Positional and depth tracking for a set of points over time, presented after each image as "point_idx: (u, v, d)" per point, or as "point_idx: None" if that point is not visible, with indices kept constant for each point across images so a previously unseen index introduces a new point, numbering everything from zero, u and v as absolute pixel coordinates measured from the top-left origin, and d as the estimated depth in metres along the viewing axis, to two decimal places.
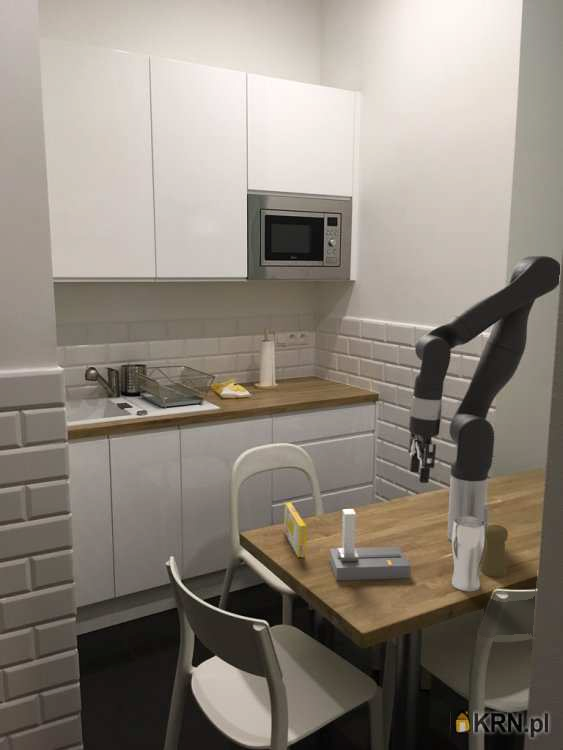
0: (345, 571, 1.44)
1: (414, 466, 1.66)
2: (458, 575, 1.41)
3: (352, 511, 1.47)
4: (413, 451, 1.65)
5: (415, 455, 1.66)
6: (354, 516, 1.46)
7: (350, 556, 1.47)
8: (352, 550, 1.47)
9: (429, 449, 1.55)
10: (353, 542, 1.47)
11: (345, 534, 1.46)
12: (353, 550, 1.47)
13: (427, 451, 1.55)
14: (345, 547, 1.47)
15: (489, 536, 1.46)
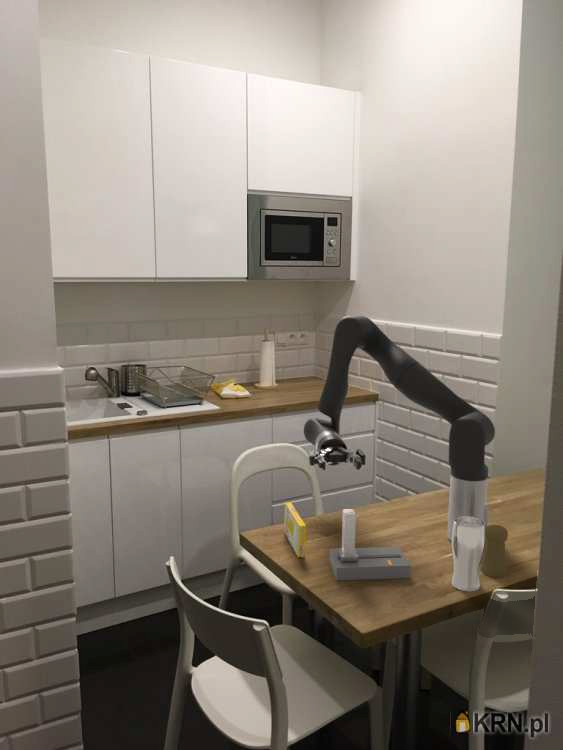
0: (345, 571, 1.44)
1: (355, 464, 1.59)
2: (458, 575, 1.41)
3: (352, 511, 1.47)
4: (348, 463, 1.63)
5: (354, 461, 1.61)
6: (354, 516, 1.46)
7: (350, 556, 1.47)
8: (352, 550, 1.47)
9: None
10: (353, 542, 1.47)
11: (345, 534, 1.46)
12: (353, 550, 1.47)
13: None
14: (345, 547, 1.47)
15: (489, 536, 1.46)
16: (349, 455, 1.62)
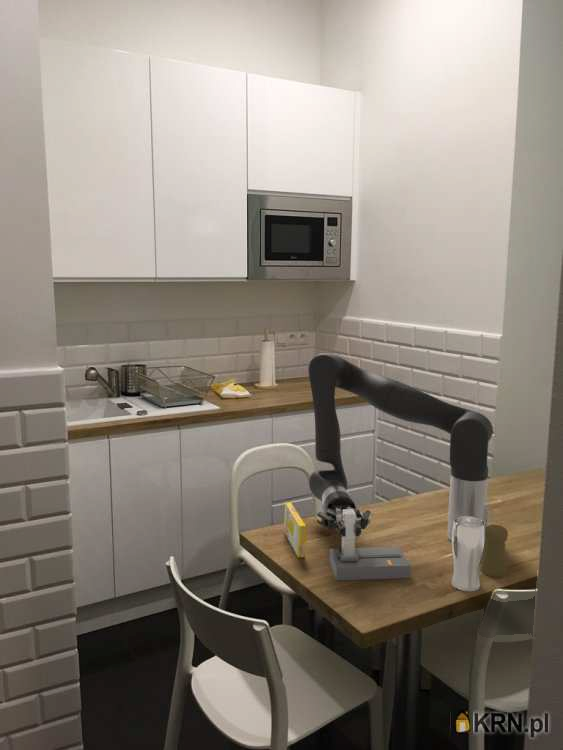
0: (345, 571, 1.44)
1: (355, 530, 1.46)
2: (458, 575, 1.41)
3: (352, 511, 1.47)
4: None
5: None
6: (354, 516, 1.46)
7: (350, 556, 1.47)
8: (352, 550, 1.47)
9: (319, 519, 1.53)
10: (353, 542, 1.47)
11: None
12: (353, 550, 1.47)
13: (320, 522, 1.52)
14: (345, 547, 1.47)
15: (489, 536, 1.46)
16: None
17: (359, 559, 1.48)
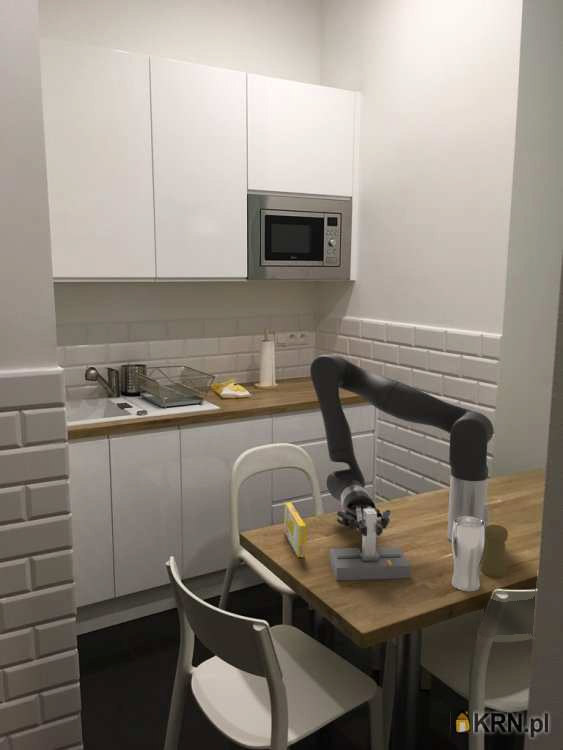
0: (345, 571, 1.44)
1: (376, 529, 1.47)
2: (458, 575, 1.41)
3: (373, 511, 1.48)
4: None
5: None
6: (375, 515, 1.46)
7: (371, 555, 1.47)
8: (373, 549, 1.48)
9: (339, 519, 1.53)
10: (374, 541, 1.47)
11: None
12: (374, 549, 1.48)
13: (340, 521, 1.53)
14: (366, 546, 1.47)
15: (489, 536, 1.46)
16: None
17: (359, 559, 1.48)
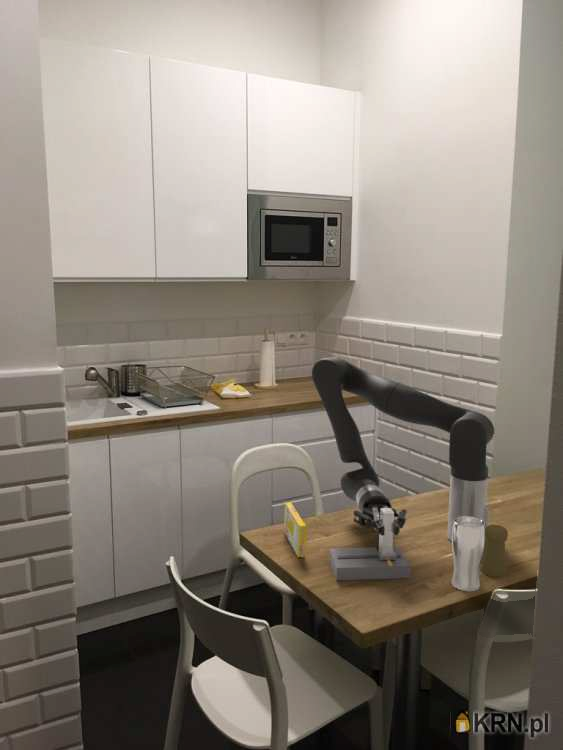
0: (345, 571, 1.44)
1: (393, 529, 1.47)
2: (458, 575, 1.41)
3: (390, 510, 1.48)
4: None
5: None
6: (392, 515, 1.47)
7: (388, 555, 1.47)
8: (390, 549, 1.48)
9: (356, 519, 1.53)
10: (391, 541, 1.48)
11: None
12: (391, 549, 1.48)
13: (357, 521, 1.53)
14: (383, 546, 1.48)
15: (489, 536, 1.46)
16: None
17: (359, 559, 1.48)
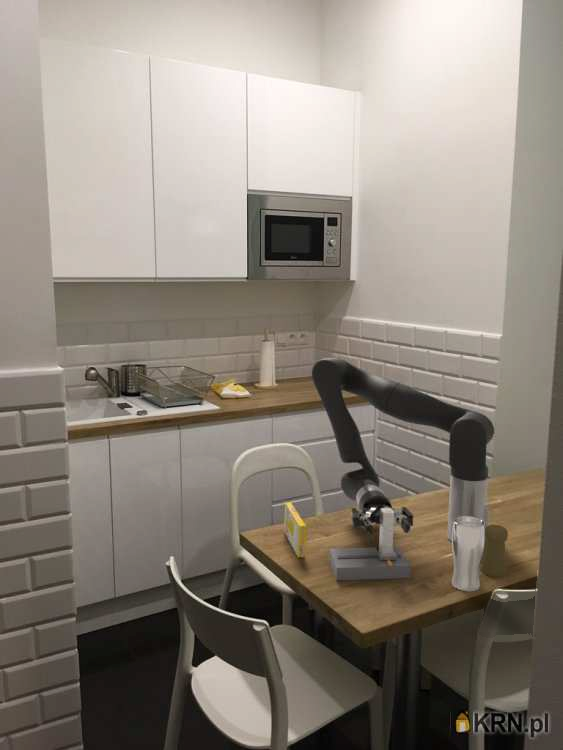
0: (345, 571, 1.44)
1: (403, 527, 1.48)
2: (458, 575, 1.41)
3: (390, 510, 1.48)
4: (394, 523, 1.53)
5: (401, 522, 1.51)
6: (392, 515, 1.47)
7: (388, 555, 1.47)
8: (390, 549, 1.48)
9: (351, 516, 1.55)
10: (391, 541, 1.48)
11: (383, 533, 1.47)
12: (391, 549, 1.48)
13: (351, 518, 1.55)
14: (383, 546, 1.48)
15: (489, 536, 1.46)
16: (395, 515, 1.52)
17: (359, 559, 1.48)
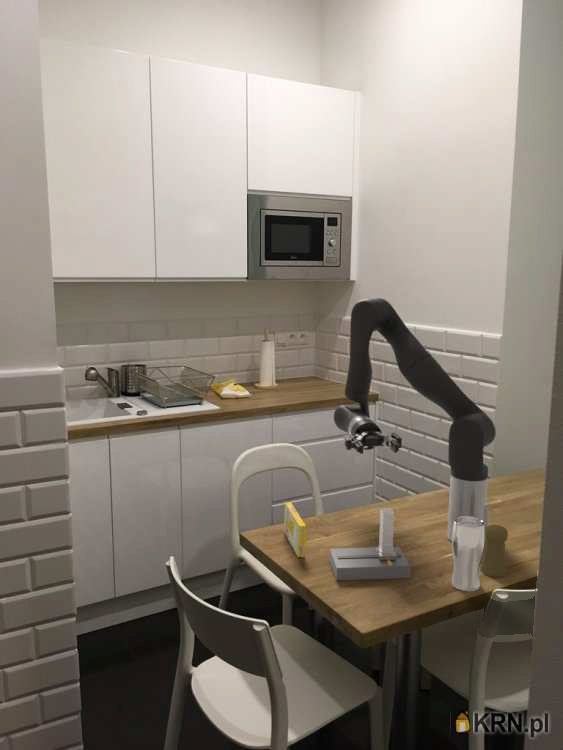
0: (345, 571, 1.44)
1: (393, 447, 1.59)
2: (458, 575, 1.41)
3: (390, 510, 1.48)
4: (384, 446, 1.63)
5: None
6: (392, 515, 1.47)
7: (388, 555, 1.47)
8: (390, 549, 1.48)
9: (344, 441, 1.65)
10: (391, 541, 1.48)
11: (383, 533, 1.47)
12: (391, 549, 1.48)
13: (344, 443, 1.65)
14: (383, 546, 1.48)
15: (489, 536, 1.46)
16: (385, 439, 1.62)
17: (359, 559, 1.48)
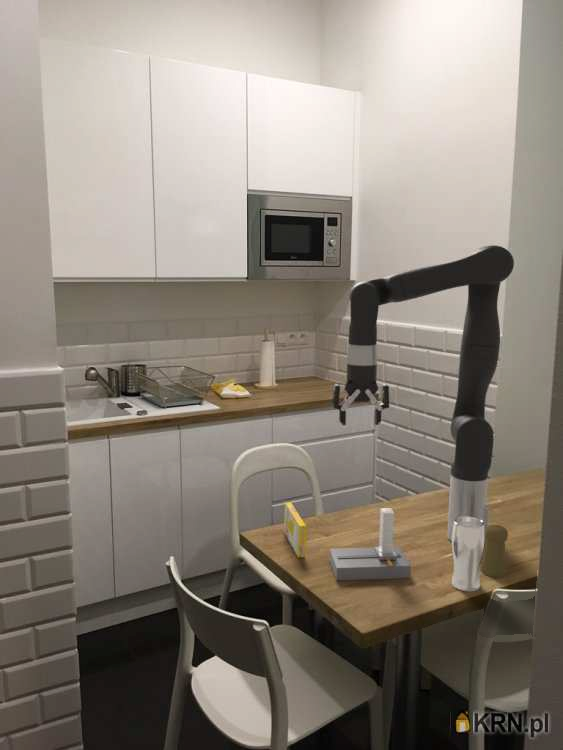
0: (345, 571, 1.44)
1: (375, 418, 1.64)
2: (458, 575, 1.41)
3: (390, 510, 1.48)
4: (371, 401, 1.64)
5: (376, 407, 1.63)
6: (392, 515, 1.47)
7: (388, 555, 1.47)
8: (390, 549, 1.48)
9: (334, 389, 1.62)
10: (391, 541, 1.48)
11: (383, 533, 1.47)
12: (391, 549, 1.48)
13: (333, 390, 1.62)
14: (383, 546, 1.48)
15: (489, 536, 1.46)
16: (373, 403, 1.62)
17: (359, 559, 1.48)
